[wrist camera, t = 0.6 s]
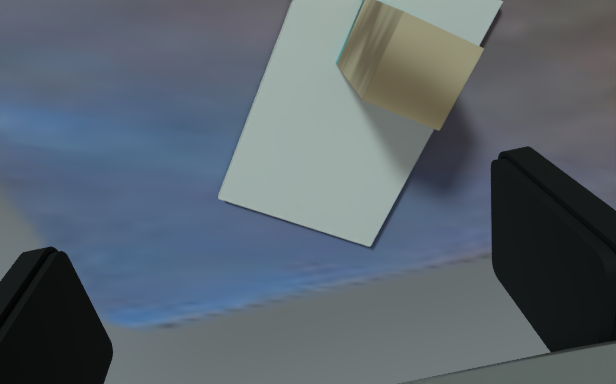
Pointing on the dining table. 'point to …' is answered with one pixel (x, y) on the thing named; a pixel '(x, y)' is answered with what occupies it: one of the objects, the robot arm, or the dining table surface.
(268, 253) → the dining table surface
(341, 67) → the oak block
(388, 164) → the grey mat
